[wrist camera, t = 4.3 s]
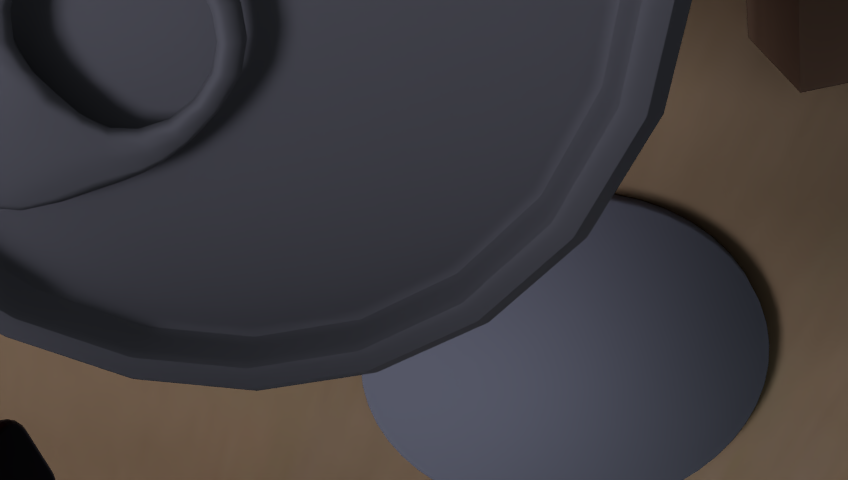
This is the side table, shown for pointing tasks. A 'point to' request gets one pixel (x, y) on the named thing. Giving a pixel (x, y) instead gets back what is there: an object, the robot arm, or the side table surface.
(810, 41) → the tray
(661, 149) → the side table surface
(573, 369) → the coaster
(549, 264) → the beer can
